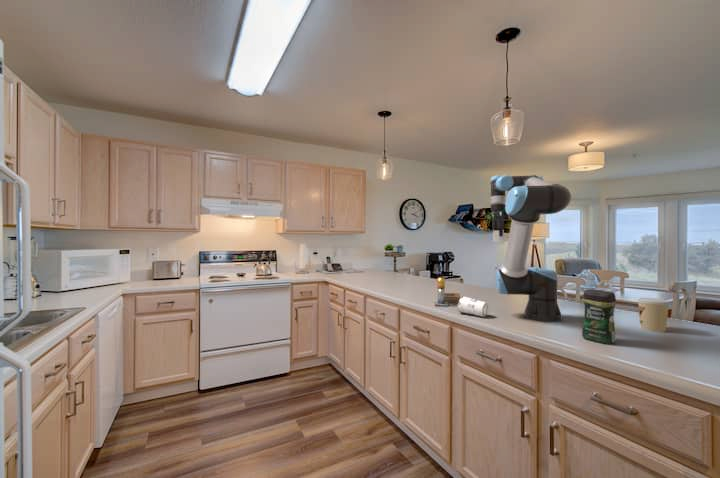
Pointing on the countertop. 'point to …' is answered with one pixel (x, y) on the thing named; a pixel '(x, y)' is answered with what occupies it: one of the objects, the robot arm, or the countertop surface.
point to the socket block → (452, 298)
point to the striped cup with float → (472, 306)
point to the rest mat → (441, 304)
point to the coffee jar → (599, 316)
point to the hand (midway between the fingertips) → (498, 242)
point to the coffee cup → (653, 314)
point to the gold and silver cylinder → (441, 290)
